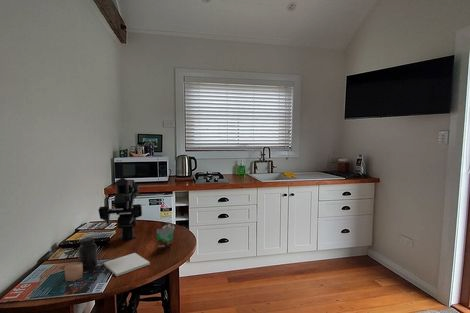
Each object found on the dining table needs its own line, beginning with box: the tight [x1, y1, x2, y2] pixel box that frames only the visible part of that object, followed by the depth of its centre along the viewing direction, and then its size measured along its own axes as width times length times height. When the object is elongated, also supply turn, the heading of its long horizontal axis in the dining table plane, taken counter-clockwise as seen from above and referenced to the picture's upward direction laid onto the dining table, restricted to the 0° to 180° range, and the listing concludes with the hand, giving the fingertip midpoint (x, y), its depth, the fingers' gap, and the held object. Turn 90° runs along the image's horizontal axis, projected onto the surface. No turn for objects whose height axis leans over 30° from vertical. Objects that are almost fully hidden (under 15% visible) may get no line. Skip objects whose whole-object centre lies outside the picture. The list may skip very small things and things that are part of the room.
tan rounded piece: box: [64, 261, 84, 282], centre depth 105 cm, size 6×6×5 cm
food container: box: [156, 221, 175, 249], centre depth 137 cm, size 12×6×10 cm, turn 168°
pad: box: [103, 252, 151, 277], centre depth 116 cm, size 14×14×1 cm
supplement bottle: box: [77, 236, 99, 271], centre depth 114 cm, size 7×7×12 cm
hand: (118, 224), depth 122 cm, fingers open, 9 cm apart
